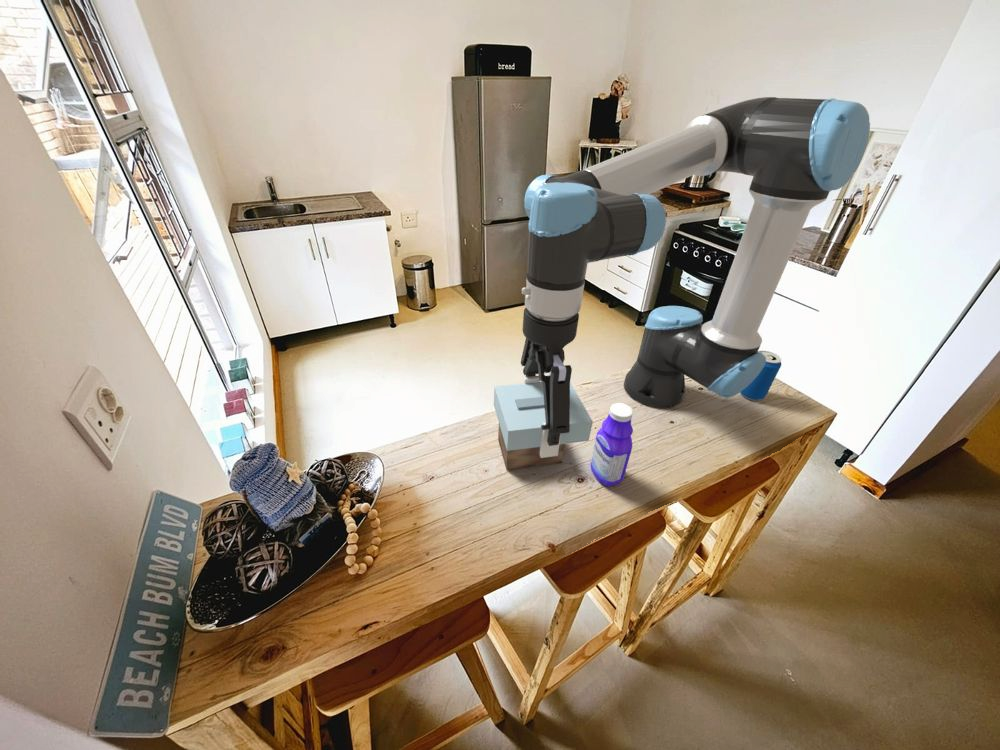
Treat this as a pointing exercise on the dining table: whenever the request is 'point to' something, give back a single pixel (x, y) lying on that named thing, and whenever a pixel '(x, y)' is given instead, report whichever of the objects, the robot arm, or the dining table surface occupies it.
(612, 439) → the bottle
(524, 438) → the lid
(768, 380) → the beverage can
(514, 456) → the crate
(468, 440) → the dining table surface
